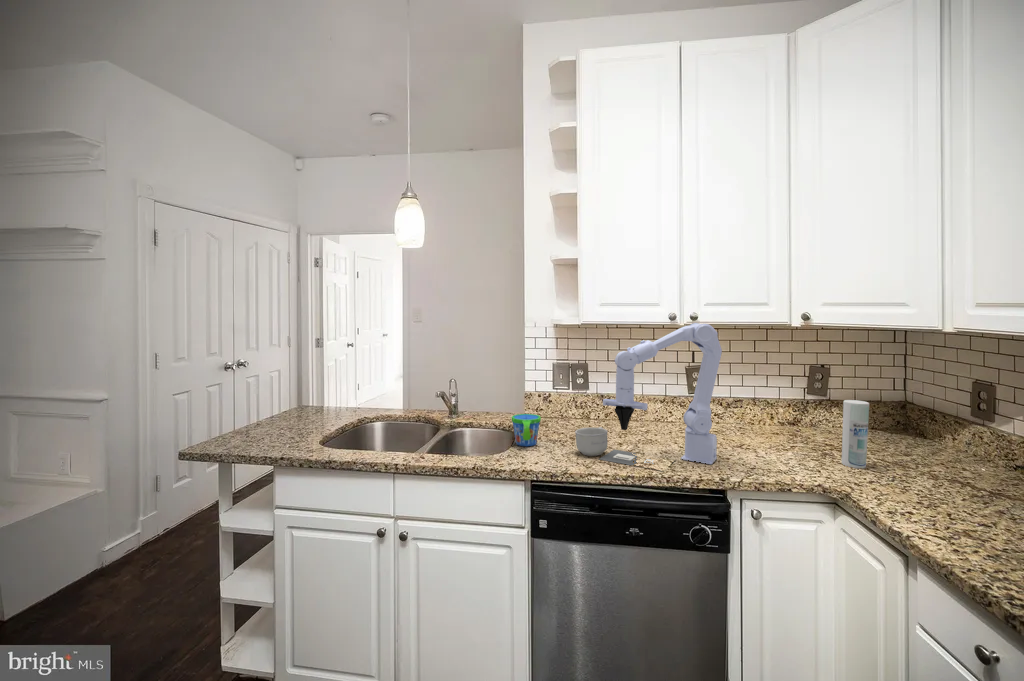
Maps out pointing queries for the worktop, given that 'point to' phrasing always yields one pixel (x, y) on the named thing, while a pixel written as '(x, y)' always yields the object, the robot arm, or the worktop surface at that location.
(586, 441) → the teacup
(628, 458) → the label mat
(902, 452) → the worktop surface
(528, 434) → the snack cup
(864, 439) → the spray can
